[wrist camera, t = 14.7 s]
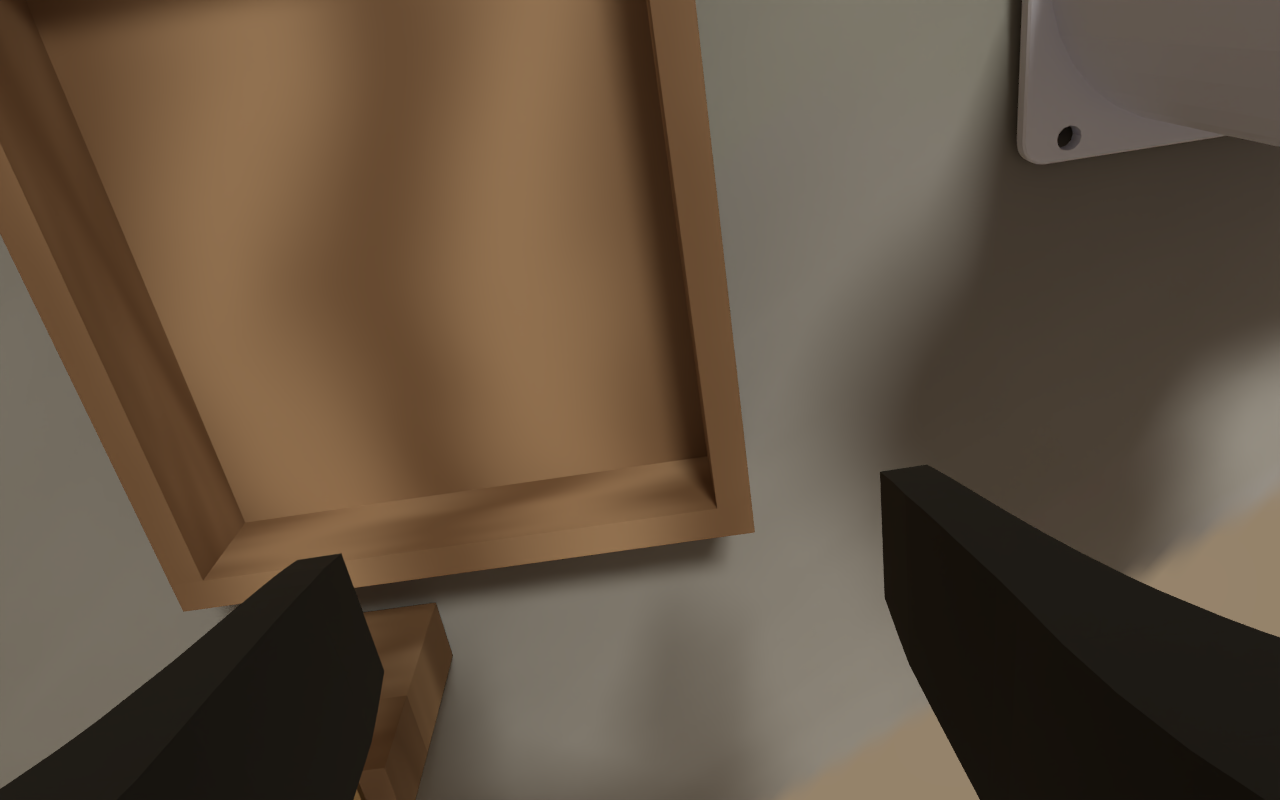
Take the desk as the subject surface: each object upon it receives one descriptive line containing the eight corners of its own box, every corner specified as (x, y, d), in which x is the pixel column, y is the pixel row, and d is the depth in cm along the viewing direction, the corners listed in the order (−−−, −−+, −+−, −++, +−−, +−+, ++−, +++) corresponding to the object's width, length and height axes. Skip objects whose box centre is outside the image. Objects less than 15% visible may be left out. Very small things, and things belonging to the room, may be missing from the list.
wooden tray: (652, -263, 16) (668, -398, 11) (755, 614, 25) (792, 779, 19) (-57, -133, 16) (-376, -198, 11) (293, 676, 25) (208, 852, 20)
